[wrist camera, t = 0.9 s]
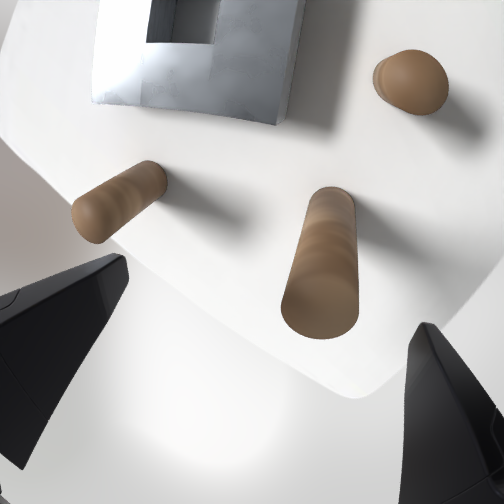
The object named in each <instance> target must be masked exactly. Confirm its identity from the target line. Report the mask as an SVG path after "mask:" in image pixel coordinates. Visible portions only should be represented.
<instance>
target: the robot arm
mask: <svg viewBox="0 0 504 504" xmlns="http://www.w3.org/2000/svg"><path fill="white" fill-rule="evenodd" d="M128 282H129V273H128V268H127V262H126V258H125V257H124V256H123V255H120V254H116V253H112V254H109V255H107V256H104V257H101V258H98V259H95V260H93V261H90V262H87V263H84V264H82V265H79V266H77V267H74V268H71V269H68V270H66V271H63V272H61V273H58V274H55V275H53V276H50V277H48V278H45V279H42V280H40V281H37V282H35V283H32V284H30V285H27V286H25V287H22V288H21V289H17V290H15V291H12V292H10V293H7V294H5V295H2V296H0V453H1V454H2V455H3V456H4V457H6V458H7V459H8V460H9V461H10V462H12V463H13V464H14V465H16V466H17V467H18V468H19V469H21V470H23V469H24V467H25V466H26V464H27V462H28V460H29V458H30V456H31V454H32V452H33V450H34V447H35V446H36V444H37V442H38V440H39V438H40V436H41V434H42V432H43V430H44V428H45V427H46V425H47V423H48V420H49V419H50V417H51V415H52V414H53V412H54V410H55V408H56V406H57V405H58V403H59V401H60V399H61V397H62V396H63V394H64V392H65V391H66V389H67V387H68V385H69V384H70V382H71V380H72V379H73V377H74V375H75V374H76V372H77V370H78V368H79V367H80V365H81V364H82V362H83V360H84V359H85V357H86V356H87V354H88V352H89V351H90V349H91V347H92V346H93V344H94V343H95V341H96V339H97V338H98V336H99V335H100V333H101V332H102V330H103V329H104V327H105V325H106V324H107V322H108V320H109V319H110V317H111V315H112V313H113V311H114V309H115V307H116V305H117V303H118V302H119V300H120V297H121V296H122V294H123V292H124V290H125V288H126V286H127V284H128ZM1 492H2V491H1V486H0V494H1ZM0 504H10V503H9V502H8V501H7V500H5V499H4V498H3V497H2V496H1V495H0ZM398 504H504V417H503V416H502V414H501V413H500V411H499V410H498V408H496V405H495V404H494V403H493V401H492V400H491V398H490V397H489V395H488V394H487V392H486V391H485V390H484V388H483V387H482V386H481V384H480V383H479V381H478V380H477V379H476V377H475V376H474V374H473V373H472V372H471V370H470V369H469V368H468V367H467V365H466V364H465V362H464V361H463V360H462V358H461V357H460V356H459V355H458V353H457V352H456V351H455V349H454V348H453V347H452V346H451V344H450V343H449V342H448V340H447V339H446V338H445V337H444V335H443V334H442V333H441V332H440V330H439V329H438V328H437V327H436V325H434V324H432V323H427V322H422V323H420V325H419V326H418V328H417V330H416V332H415V334H414V335H413V337H412V339H411V341H410V343H409V347H408V358H407V372H406V383H405V397H404V442H403V460H402V474H401V484H400V494H399V503H398Z"/></svg>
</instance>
